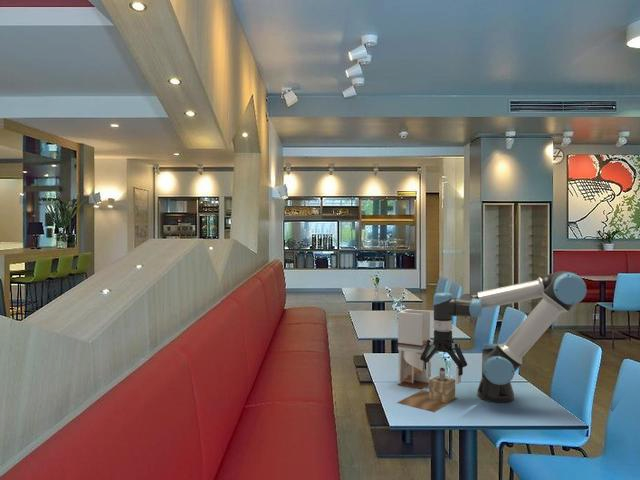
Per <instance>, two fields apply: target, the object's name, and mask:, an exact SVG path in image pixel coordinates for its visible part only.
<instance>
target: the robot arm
mask: <svg viewBox="0 0 640 480" xmlns="http://www.w3.org/2000/svg"><path fill="white" fill-rule="evenodd" d="M586 296H587V284H586V282H585V281H584V280H583V279H582V277H581V276H580V275H578V274H576V273H574V272H571V271H567V270H559V271H556V272H553V273H549V274H546V275H541V276H538V278H537V279H535V280H530V281H525V282H520V283H516V284H510V285H506V286H502V287H496V288H492V289H487V290H481V291H477V292H472V293H464V294H462V295H460V296H459V298H457V297H456V298H455V297H453V295H452V293H450V292H436V293H434V295H433V304H432V305H433V329H434V330H433V339H432V338H430V339H429V340H427V345H426V347H425V349H424V351H423V353H422V355H421V357H420V360H423V361H424V368H425V369H426V378H429V379H430V378H431V377H432V369H431V368H432V367H431V365H432V362H431V361H430V360H432V358H433V357H434V356H435V354H436V353H437V352H439V353H444V354H448V355H449V356H450V358H451V359H452V361H453V362H454V363H455V365H456V366H457V367H456V368H455V371H456V372H455V373H456V374H455V376H456V377H455V385H458V384H461V382H462V379H461V378H462V376H463V374H464V370H463V368H466V367H467V366H468V363H467V360H466V358H465V356H464V354H463V352H462V350H461V345H460V342H456V343H455V342H453V331H452V329H453V317H466V318H467V317H469V318H479V317H482V315H483V310H484V309H489V308H494V307H498V306H504V305H509V304H515V303H521V302H525V301H529V300H530V301H531V300H535V299H540V298H542V299H541V300H540V301H539V302H538V304H537V305H536V306H535V307H534V308H533V309H532V311H530V313H529V314H528V315H527V316H526V317H525V318H524V320H523V321H522V322H521V323H520V324H519V325H518V326H517V328H516V329H515V330H514V332H513V333H512V334H510V336H509V337H508V338H507V339H506V341H505V342H503V343H484V344H483V345H482V347H481V348H482V349H481V379H480V382H479V385H478V388H477V391H476V392H477V393H476V394H477V395H476V396H477V397H478V398H479V399H481V400H483V401H486V402H493V403H509V402H513V401H514V399H515V392H514V390H513V386H512V384H511V383H512V380H513V378H514V377H515V374H516V372H517V370H518V369H519V368H520V367H521V366H522V364H523V357H524V356H525V355H526V353H528V351H529V350H530V349H531V348H532V347H533V346H534V345H535V343H537V341H538V340H539V339H540V337H541V336H542V335H544V333H545V332H546V331H547V330H548V329H549V328H550V326H551V325H552V324H553V323H554V321H556V320H557V318H558V317H559V316H560V315H561V314H562V313H568V312H569V311H570V310H571V309H572V308H573V307H574V306H575V305H576V304H579V303H580V302H582V301H583V300H584V299H585V297H586ZM432 345H433V346H434V347H433V349H432V350H431V351H430V354H429V355H428V356H427V354H428V352H429V349H431V348H432ZM452 347H453V348H454V350H453V348H452ZM426 356H427V357H426ZM429 361H430V362H429Z"/></svg>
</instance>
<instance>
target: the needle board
mask: <svg viewBox="0 0 640 480" xmlns="http://www.w3.org/2000/svg"><path fill="white" fill-rule="evenodd" d="M439 376H440V381H444V382H445V377H446V368H445V367H440V368H439ZM458 399H459V398H458V397H456V396H455V399H453V400H451V401H449V402H448V403H444V402H440V401H436V400H432V399H429V390H423V389H420V390H419V391H417V392H415V393H413V394H411V395H409V396H407V397H405V398H403V399H401V400H399V401H398V402H396V404H399V405H404V406H408V407H410V408H411V407H412V408H414V409H415V408H416V409H419V410H424V411H428V412H432V413H436V412H437V411H439V410H441V409H443V408H445V407H446V406H448V405H449V404H451V403H453V402H454V401H456V400H458Z"/></svg>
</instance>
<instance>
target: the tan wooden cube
mask: <svg viewBox="0 0 640 480" xmlns="http://www.w3.org/2000/svg"><path fill="white" fill-rule="evenodd" d="M428 391H429V399H432V400H436V401H440V402H444V403H448V402H449V401H451V400H453V399H455V397H456V378H455V379H454V378H452V377H451V378H450V377H446V376H445V382H444V381H440V375H437V376H435V377H432V378H429V387H428Z"/></svg>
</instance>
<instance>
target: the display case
mask: <svg viewBox="0 0 640 480" xmlns="http://www.w3.org/2000/svg"><path fill="white" fill-rule="evenodd" d="M397 313H398V314H397V316H398V317H397V318H398V319H397V350H398V383H397V386H400V387H405V388H410V389H417V390H423V389H424V388H425V389H429V380H430V377H429V378H426V369H425V368H424V361H423V360H420V357H421V355H422V353H423V351H424V349H425V347H426V345H427V340H429V339H431V311H430V310H420V309H410V308H406V309H404V310H401V311H398V312H397ZM430 349H431V348H430ZM430 349H429V352H428V354H427V356H428V355H429V354H430V353H431V350H430ZM427 356H426V357H427ZM429 362H431V361H429Z"/></svg>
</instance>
